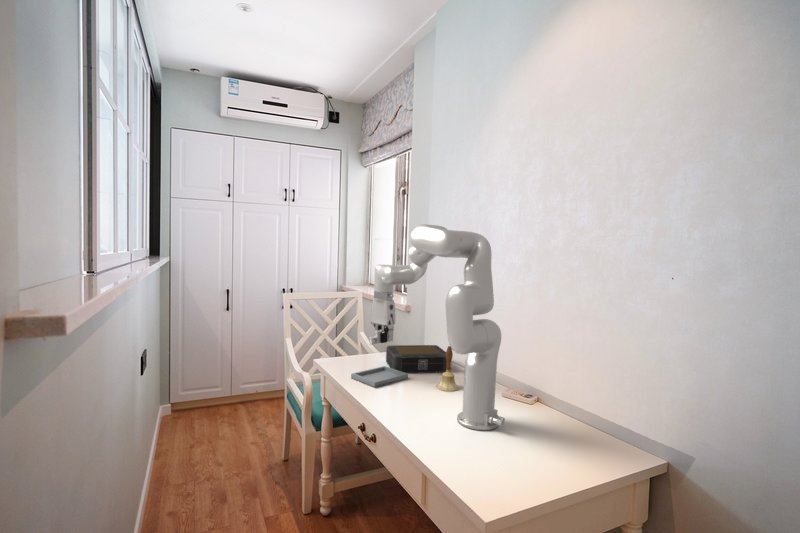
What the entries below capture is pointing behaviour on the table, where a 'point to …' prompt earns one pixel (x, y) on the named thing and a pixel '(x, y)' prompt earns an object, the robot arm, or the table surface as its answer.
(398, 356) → the cash box
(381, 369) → the tray
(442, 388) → the hand bell
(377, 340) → the white toothed rack
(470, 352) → the robot arm
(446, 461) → the table surface
